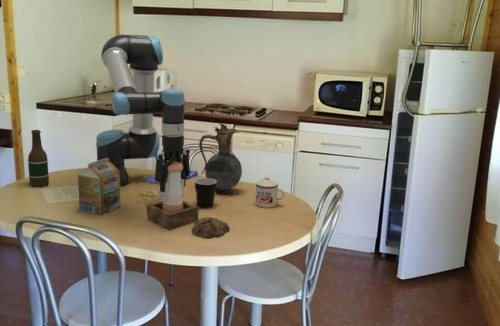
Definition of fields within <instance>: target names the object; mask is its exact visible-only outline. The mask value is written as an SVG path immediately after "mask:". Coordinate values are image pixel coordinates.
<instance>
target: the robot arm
mask: <svg viewBox="0 0 500 326" xmlns="http://www.w3.org/2000/svg"><path fill="white" fill-rule="evenodd" d="M100 53H101V60H102V63H103V65H104V66H105V67H106V68H107V71H108V74H109V77H110V80H111V83H112V87H113V90H114V93H113V94H112V96H111V107H112V112H113V113H114V114H115V115H125V116H126V115H132V124H131V126H130V127H129V128H128V132H125V131H124V130H123V129H110V130H109V129H108V130H105V131H101V132H99V133H98V134H97V135H96V141H95V142H96V143H95V146H96V161H98V160H102V159H105V158H109V162H110V163H112V164H113V165H114V166H115V167H116V168H117V169H118V171H119V172H120V188H121V187H125V186H127V185H129V183H130V178H129V174H128V171H127V169H126V168H127V167H126V165H125V163H126V162H125V160H140V159H150V158H151V159H152V158H155V173H154V174H155V181H156V182H159V183H160V185H159V191H160V193H161V197H160V199H161V200H162V201H168V183H166V180H167V176H168V173H169V172H168V166H169V165H172V162H173V161H177V162H179V163H181V164H182V165H183V169H182V171H181V188H182V198H184V197H185V187H186V181H185V179H187V178H188V177H187V176H190V171H191V169H190V167H191V165H190V153H191V150H190V149H188V148H184V144H185V136H184V133H185V101H186V100H185V92H184V91H183V90H181V89H177V88H175V89H174V88H173V89H172V88H169V89H168V88H166V89H163V90H161V91H160V90H159V91H155V92H154V86H155V84H154V83H155V82H154V81H155V73H156V72H157V71H159V66H162V64H163V62H164V55H163V48H162V44H161V41H160V39H159V38H158V37H157V36H153V35H143V34H142V35H141V34H138V35H137V34H117V35H115V36H112V37H111V38H110V39H108V40H107V41H106V42H105V43H104V45H103V47H102V48H101V52H100ZM130 70H131V71H132V73H133V75H132V73H131V71H130ZM155 114H156V115H157V114H159V115H161V119H162V120H161V134H162V136H161V139H160V134H159V133H158V132H157V131H156V130H157V129H156V128H155V127H154V126H153V120H154V118H153V116H154V115H155ZM160 140H161V141H160ZM160 142H161V146H162V150H161V152H160V153H158V152H159V151H160ZM168 161H169V162H168Z"/></svg>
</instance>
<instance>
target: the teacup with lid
mask: <svg viewBox="0 0 500 326" xmlns="http://www.w3.org/2000/svg"><path fill="white" fill-rule="evenodd" d="M278 186H279V184H278V182H277V181H276V180H273V179H271V177H270V176H269V175H267V176H265V177H264V178H262V179H259V180H257V181H255V197H254V198H255V200H254V204H255V205H256V206H257V207H260V208H266V209H267V208H269V209H270V208H273V207H276V206H277V201H282V200H283V199H284V198H285V195H286V194H285V193H286V192H285V191H284V189H283V188H280V187H279V188H278ZM278 191H280V192H281V193H282V196H280V198H277V197H278Z"/></svg>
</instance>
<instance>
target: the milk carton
mask: <svg viewBox="0 0 500 326" xmlns="http://www.w3.org/2000/svg"><path fill="white" fill-rule="evenodd" d="M77 182H78V183H77V186H78V187H77V188H78V205H79V206H78V207H79V211H80V210H82V211H81V212H84V211H85V213H87V212H89V213H88V214H91V213H93V214H92V215H95V214H97V215H96V216H99V215H100V216H101V217H102V216H105V215H107V214H109V213H112V212H114V211H117V210H118V209H120V208H121V207H122V206H121V202H122V201H121V197H122V196H121V187H120V172H119V171H118V169H117V168H116V167H115V166H114V165H113V164H112V163H110V162H109V158H105V159H102V160H98V161H97V160H96V161H92V162H88V163H87V167H86V168H83V169H82V170H80V171H79V173H77ZM111 211H112V212H111ZM106 213H107V214H106ZM104 214H105V215H104ZM100 216H99V217H100Z"/></svg>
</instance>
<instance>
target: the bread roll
mask: <svg viewBox="0 0 500 326" xmlns="http://www.w3.org/2000/svg"><path fill="white" fill-rule="evenodd" d="M230 230H231V228H230V226H229V225H228V223H227V222H225V221H223V220H220V219H218V218H216V217H209V216H207V217H201V218H198V221H197V222H194V224H193V226H192V228H191V234H192V235H194V236H199V237H201V238H202V239H204V240H209V239H211V240H212V239H214V238H217V239H218V238H221V237H223V236H225V234H226V233H229V232H230Z"/></svg>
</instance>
